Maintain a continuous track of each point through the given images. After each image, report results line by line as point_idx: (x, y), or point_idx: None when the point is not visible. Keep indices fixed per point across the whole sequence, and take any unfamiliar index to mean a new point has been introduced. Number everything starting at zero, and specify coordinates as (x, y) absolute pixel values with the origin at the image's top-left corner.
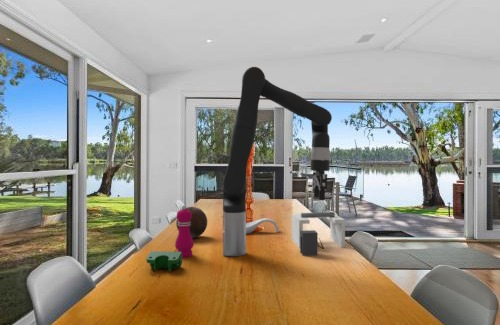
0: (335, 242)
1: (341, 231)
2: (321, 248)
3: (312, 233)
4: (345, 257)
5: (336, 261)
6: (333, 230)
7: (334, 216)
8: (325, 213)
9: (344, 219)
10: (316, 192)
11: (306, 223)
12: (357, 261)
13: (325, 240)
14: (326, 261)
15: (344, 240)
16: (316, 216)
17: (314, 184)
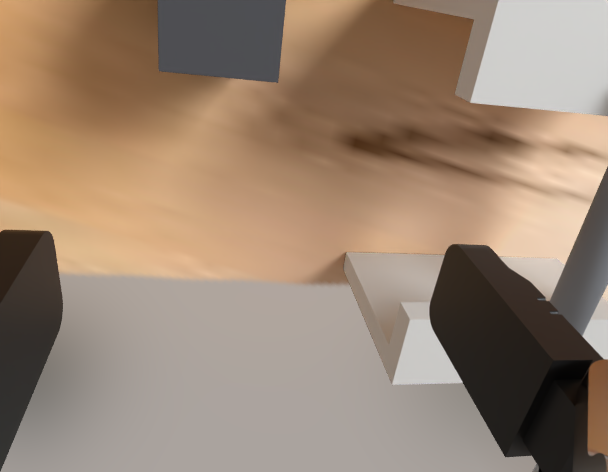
0: None
1: (373, 307)
2: (350, 132)
3: (159, 17)
4: (112, 199)
5: (8, 115)
6: None
7: None
8: (572, 305)
9: (400, 383)
10: (486, 336)
11: (463, 62)
12: None
13: (529, 219)
14: (3, 48)
15: (353, 288)
16: (586, 218)
17: (591, 465)
